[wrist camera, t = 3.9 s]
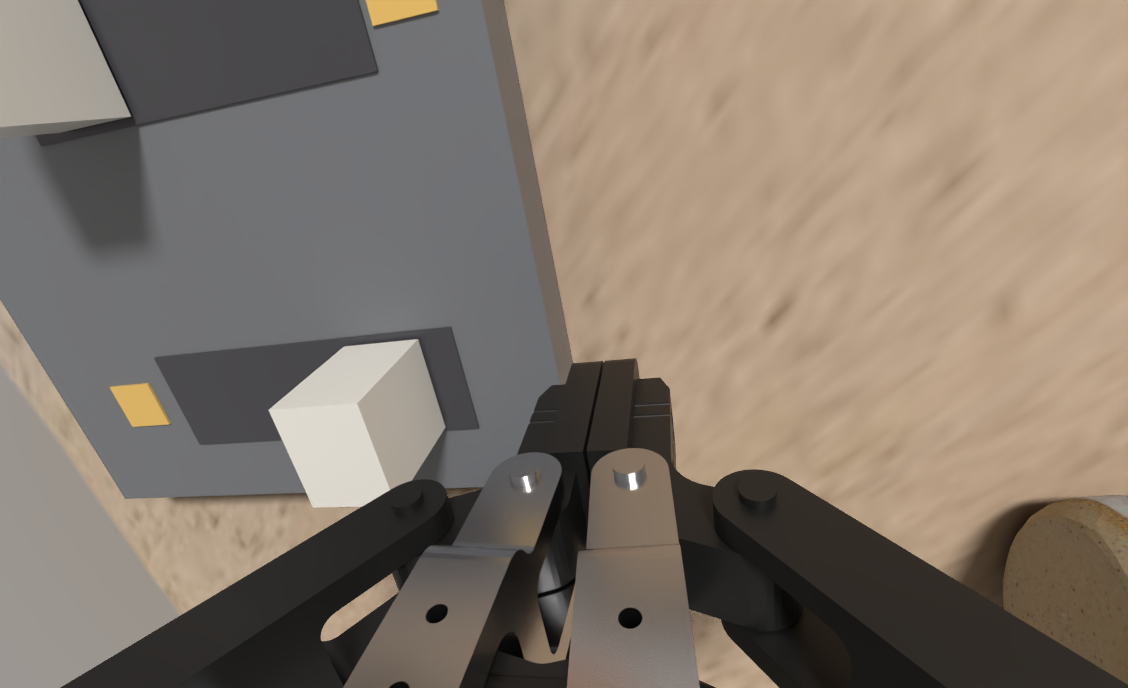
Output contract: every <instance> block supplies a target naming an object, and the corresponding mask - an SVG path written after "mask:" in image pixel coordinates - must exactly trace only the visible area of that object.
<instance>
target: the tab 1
mask: <svg viewBox="0 0 1128 688" xmlns="http://www.w3.org/2000/svg"><path fill="white" fill-rule="evenodd" d="M127 117H131V115H130V113H129V111H128V108H127V106H126V104H125V102H124V100H123V98H122V95H121V93H120V91H119V89H118V87H117V85H116V82H115V80H114V78H113V76H112V74H111V72H110V69H109V67H108V65H107V63H106V61H105V58H104V56H103V54H102V52H101V50H100V48H99V45H98V43H97V41H96V39H95V37H94V35H93V32H92V30H91V28H90V26H89V24H88V22H87V19H86V17H85V15H84V13H83V11H82V9H81V6H80V4H79V2H78V0H0V139H1V138H11V137H21V136H32V135H42V134H52V133H61V132H66V131H70V130H74V129H79V128H83V127H88V126H92V125H96V124H101V123H105V122H109V121H114V120H118V119H123V118H127Z"/></svg>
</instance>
